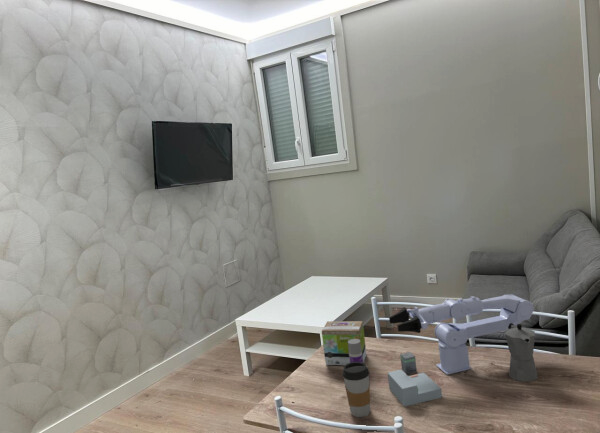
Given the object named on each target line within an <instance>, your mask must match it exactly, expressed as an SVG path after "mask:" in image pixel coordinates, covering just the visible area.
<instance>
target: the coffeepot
mask: <svg viewBox="0 0 600 433" xmlns="http://www.w3.org/2000/svg"><path fill="white" fill-rule="evenodd" d="M522 326H523V324H522V323H519V324H517V325H514V324H512V323H510V324H509V326H508V330H505V331H504V332H505V333H504V335H505V338H506V343H507V347H508V351H509V354H510V356H509V357H510V360H509V370H508V377H510V378H511V379H512V380H515V381H517V382H522V383H530V382H533V381H536V380H538V379H539V378H538V370H537V366H536V363H535V359H534V348H535V338H536V337H535V336H536V334H535V330H532V329H530V328H527V327H522Z"/></svg>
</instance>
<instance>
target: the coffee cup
mask: <svg viewBox="0 0 600 433" xmlns="http://www.w3.org/2000/svg"><path fill="white" fill-rule="evenodd" d="M369 376H370V370H369V368H368V366H367V364H366V363H365V362H364V363H362V362H351V363H348V364H346V365H343V369H342V377H343V381H344V388H345V392H346V398H347V403H348V406H349V410H350V414H351V415H353V417H356V418H365V417H367V416H368V415H369V414H370V412H371V409H372V407H371V387H370V377H369Z"/></svg>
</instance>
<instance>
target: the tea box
mask: <svg viewBox="0 0 600 433" xmlns="http://www.w3.org/2000/svg"><path fill="white" fill-rule="evenodd" d="M364 328H365V327H364V321H361V320H359V321H358V320H356V321H355V320H354V321H353V320H352V321H351V320H349V321H348V320H347V321H341V320H340V321H337V320H336V321H332V320H331V321H326V323H325V324H324V327H323V328H322V330H321V336H322V337H321V338H322V345H323V352H324V353H323V354H324V362H325V365H326V366H345V365H346V364H348V363H350V358H349V349H348V341H349V340H351V339H359V340H360V342H361V349H362V356H363V363H364V364H365V360H366V356H367V349H366V346H367V345H366V340H365V339H366V338H365V329H364Z"/></svg>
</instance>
